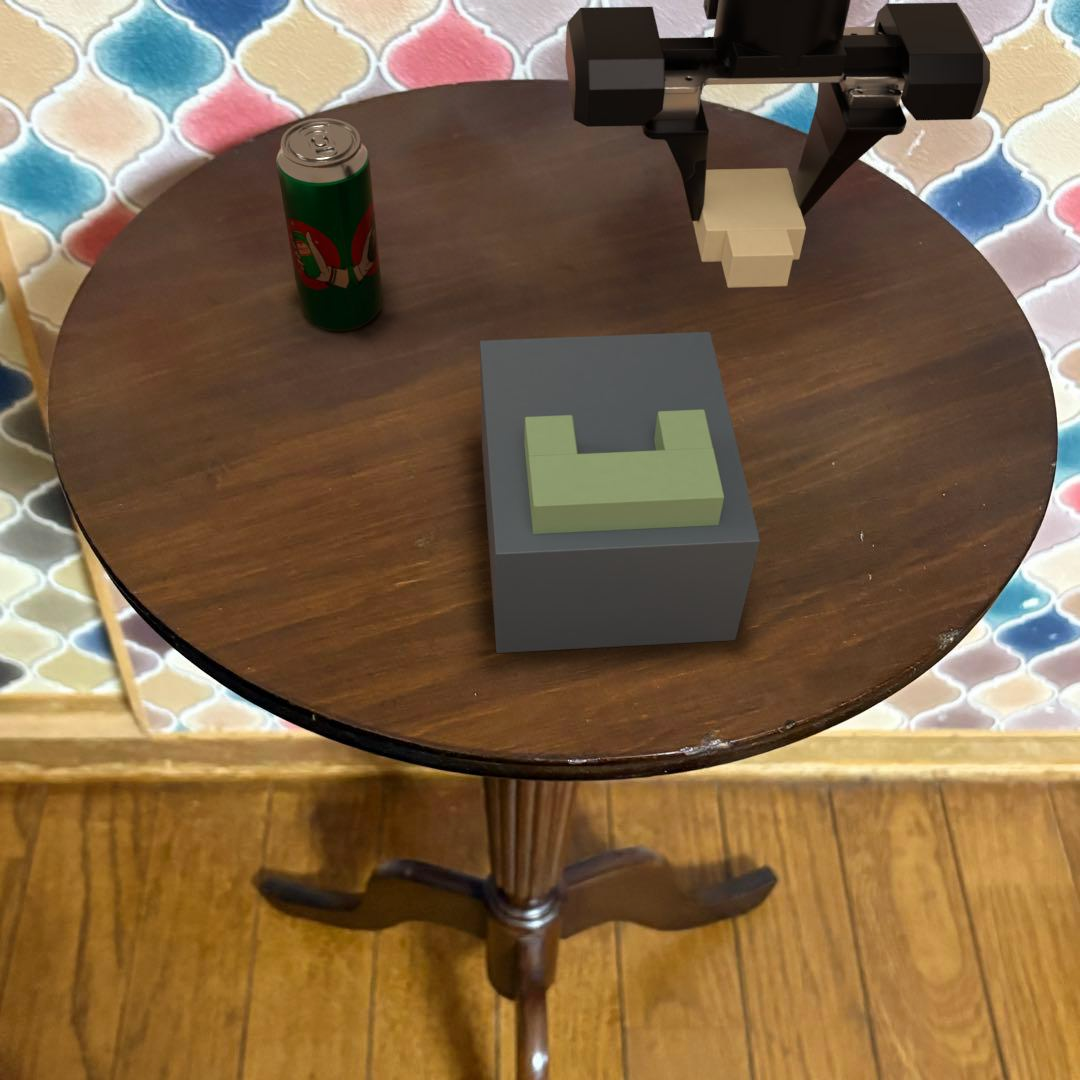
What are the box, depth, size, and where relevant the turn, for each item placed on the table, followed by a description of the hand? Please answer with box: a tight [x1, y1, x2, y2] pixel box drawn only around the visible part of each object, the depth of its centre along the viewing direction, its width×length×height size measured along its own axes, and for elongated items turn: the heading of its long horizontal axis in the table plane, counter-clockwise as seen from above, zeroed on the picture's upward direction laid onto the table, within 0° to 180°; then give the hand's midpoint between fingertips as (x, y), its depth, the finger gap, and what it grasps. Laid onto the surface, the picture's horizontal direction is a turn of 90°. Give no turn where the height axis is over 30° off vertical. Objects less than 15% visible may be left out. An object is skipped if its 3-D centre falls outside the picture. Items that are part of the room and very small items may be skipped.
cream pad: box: [692, 167, 807, 289], centre depth 65 cm, size 5×7×2 cm
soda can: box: [275, 117, 384, 333], centre depth 74 cm, size 5×5×12 cm
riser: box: [479, 331, 761, 654], centre depth 65 cm, size 12×14×8 cm
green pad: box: [524, 410, 724, 534], centre depth 59 cm, size 8×6×2 cm, turn 95°
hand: (745, 214), depth 65 cm, fingers closed on cream pad, 5 cm apart
